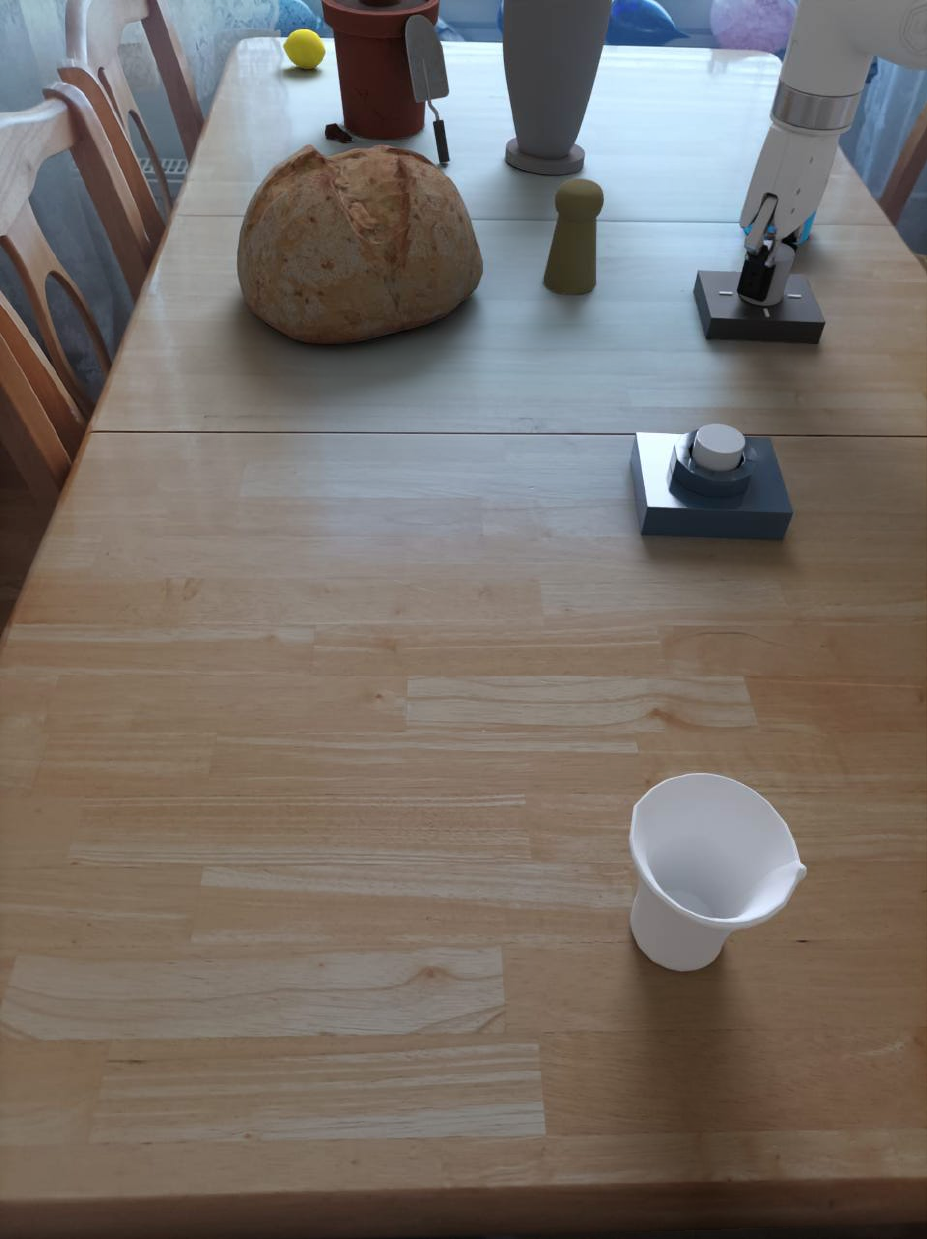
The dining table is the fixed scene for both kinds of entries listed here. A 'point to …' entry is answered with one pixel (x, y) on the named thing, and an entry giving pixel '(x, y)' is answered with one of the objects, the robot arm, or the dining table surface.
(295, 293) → the bread
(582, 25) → the vase
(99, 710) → the dining table surface
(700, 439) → the button
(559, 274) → the game pawn
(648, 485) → the push button box
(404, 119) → the potted plant
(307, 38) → the lemon
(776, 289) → the lock knob
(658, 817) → the cup
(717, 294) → the knob base
